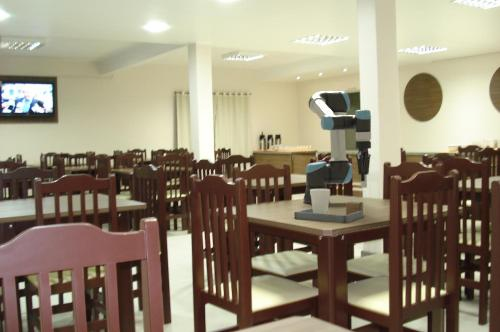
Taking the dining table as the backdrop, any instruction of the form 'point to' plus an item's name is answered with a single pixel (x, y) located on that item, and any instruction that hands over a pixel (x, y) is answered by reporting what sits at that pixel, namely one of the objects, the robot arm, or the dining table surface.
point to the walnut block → (353, 207)
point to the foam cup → (320, 200)
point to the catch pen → (327, 216)
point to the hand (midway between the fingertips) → (363, 187)
